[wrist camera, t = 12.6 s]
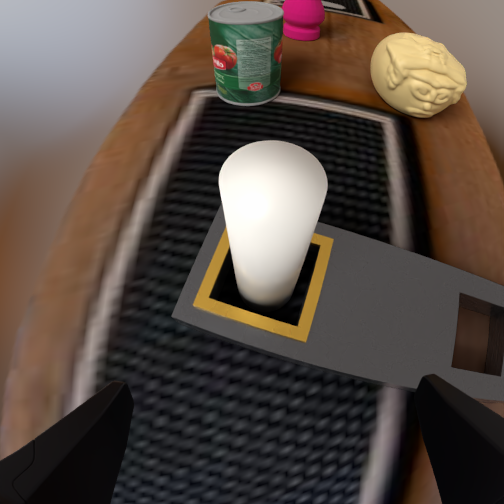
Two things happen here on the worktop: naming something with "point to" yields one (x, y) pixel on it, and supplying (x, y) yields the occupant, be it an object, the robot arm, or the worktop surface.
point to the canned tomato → (247, 51)
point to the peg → (270, 217)
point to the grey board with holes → (357, 313)
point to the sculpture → (416, 74)
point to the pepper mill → (303, 19)
